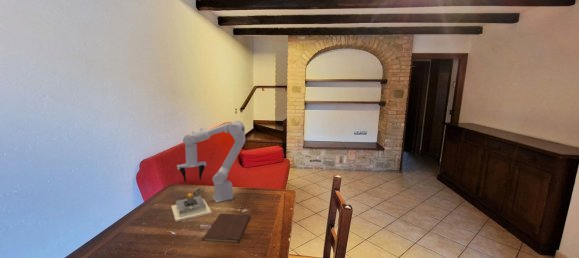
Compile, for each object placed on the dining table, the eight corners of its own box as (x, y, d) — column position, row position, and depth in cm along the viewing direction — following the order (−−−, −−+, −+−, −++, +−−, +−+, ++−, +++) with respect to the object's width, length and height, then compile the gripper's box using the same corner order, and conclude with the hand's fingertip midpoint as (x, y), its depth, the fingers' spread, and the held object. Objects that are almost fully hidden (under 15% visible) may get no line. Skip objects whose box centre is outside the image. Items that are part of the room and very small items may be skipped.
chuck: (200, 201, 134) (200, 195, 133) (206, 210, 124) (205, 204, 123) (176, 206, 128) (175, 200, 127) (179, 217, 118) (179, 210, 117)
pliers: (173, 202, 133) (189, 187, 153) (173, 204, 133) (189, 188, 153) (191, 203, 133) (205, 187, 152) (191, 204, 133) (205, 189, 152)
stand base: (203, 200, 137) (203, 198, 137) (211, 213, 123) (211, 211, 123) (171, 207, 129) (171, 205, 128) (175, 222, 115) (175, 220, 115)
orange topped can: (193, 206, 128) (192, 191, 126) (194, 209, 125) (194, 193, 124) (187, 208, 126) (186, 193, 125) (188, 210, 124) (187, 195, 122)
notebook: (202, 241, 102) (202, 237, 102) (219, 216, 122) (219, 212, 121) (238, 243, 101) (238, 239, 101) (250, 218, 120) (250, 214, 120)
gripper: (177, 159, 129) (179, 184, 131) (207, 156, 136) (207, 180, 138) (176, 156, 135) (177, 180, 137) (204, 153, 142) (205, 176, 144)
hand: (192, 180), depth 138 cm, fingers open, 7 cm apart
